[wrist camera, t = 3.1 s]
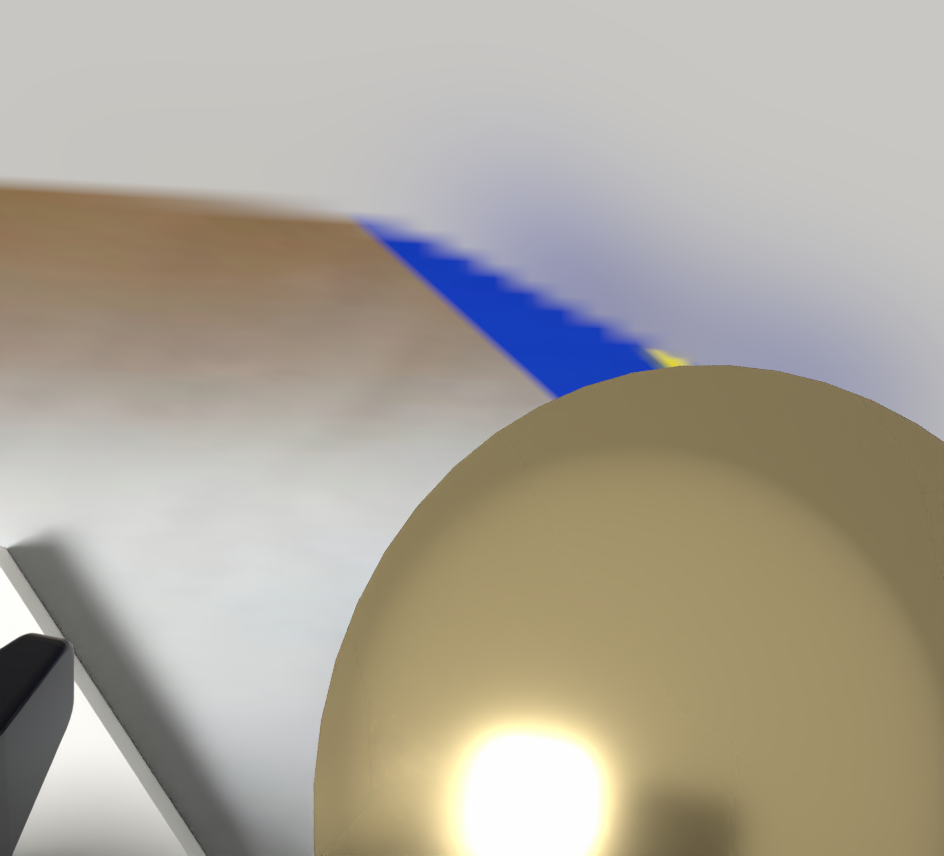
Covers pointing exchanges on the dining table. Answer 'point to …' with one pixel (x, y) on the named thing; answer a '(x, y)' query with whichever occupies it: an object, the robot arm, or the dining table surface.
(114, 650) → the dining table surface
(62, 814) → the socket plate
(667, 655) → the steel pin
